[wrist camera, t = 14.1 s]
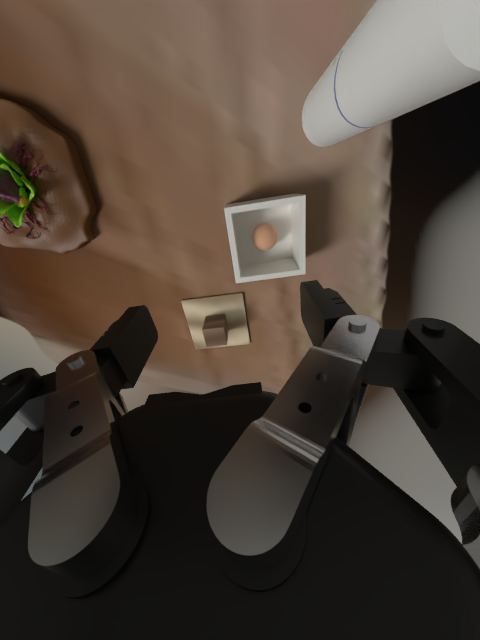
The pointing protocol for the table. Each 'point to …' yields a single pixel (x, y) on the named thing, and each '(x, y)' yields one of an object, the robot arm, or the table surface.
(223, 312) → the oak lid
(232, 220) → the off-white box
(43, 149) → the plant
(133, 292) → the table surface
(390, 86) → the cylindrical container
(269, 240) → the terracotta ball
